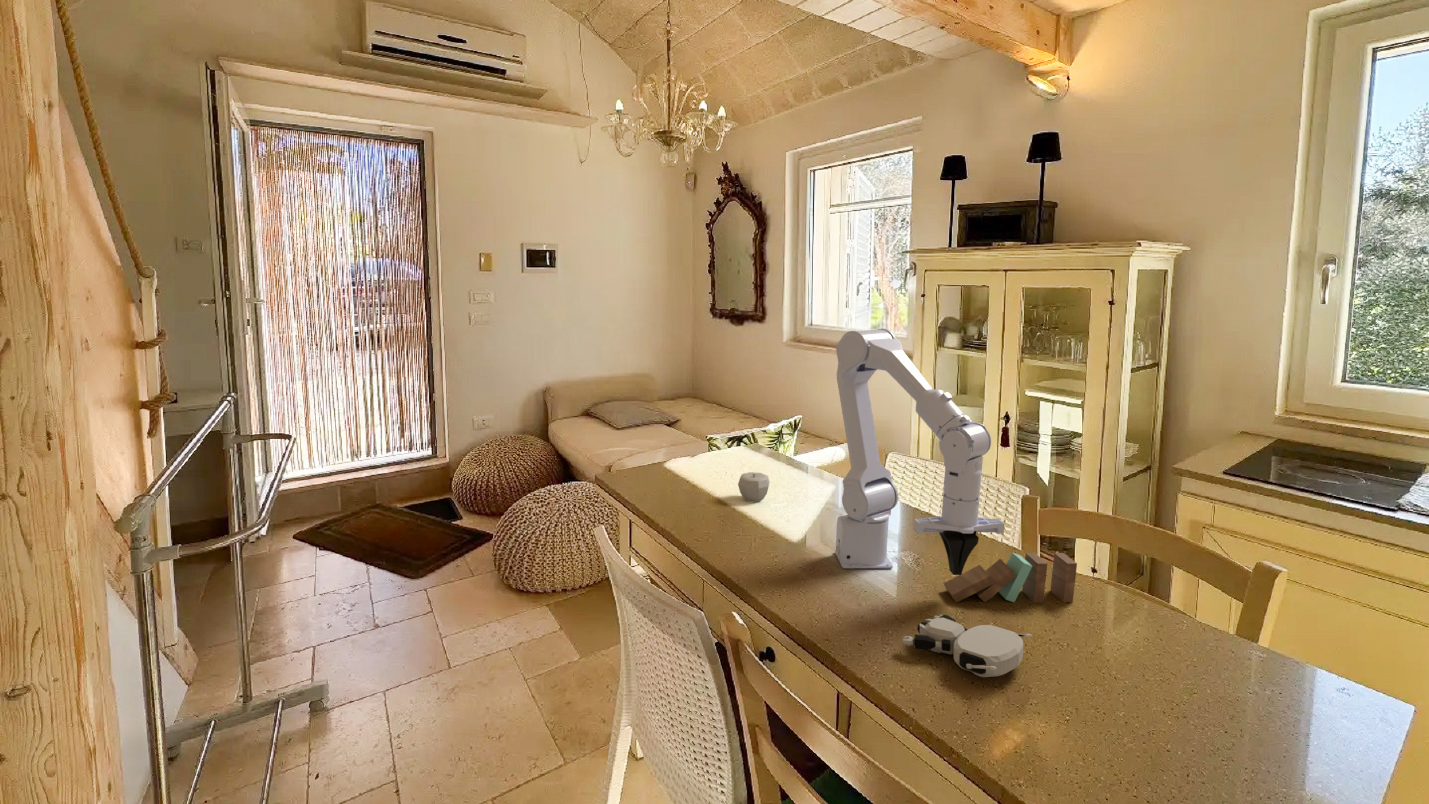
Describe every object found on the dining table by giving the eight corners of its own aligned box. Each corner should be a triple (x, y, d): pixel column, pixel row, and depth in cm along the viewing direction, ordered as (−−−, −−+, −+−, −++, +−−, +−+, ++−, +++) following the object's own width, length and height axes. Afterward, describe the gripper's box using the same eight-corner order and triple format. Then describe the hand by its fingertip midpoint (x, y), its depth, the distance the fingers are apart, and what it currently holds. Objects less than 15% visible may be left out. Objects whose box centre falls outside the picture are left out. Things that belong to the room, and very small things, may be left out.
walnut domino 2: (978, 596, 117) (1011, 569, 116) (968, 584, 121) (1000, 558, 120) (984, 602, 117) (1017, 575, 116) (974, 590, 121) (1005, 564, 121)
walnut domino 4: (1063, 602, 117) (1067, 563, 116) (1050, 590, 122) (1054, 552, 120) (1072, 602, 117) (1077, 563, 116) (1059, 590, 122) (1063, 552, 120)
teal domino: (1003, 590, 121) (1020, 555, 120) (1014, 602, 117) (1032, 566, 116) (994, 587, 121) (1012, 552, 120) (1005, 599, 117) (1023, 562, 116)
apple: (731, 501, 167) (731, 474, 166) (747, 492, 174) (747, 467, 173) (760, 507, 163) (761, 480, 162) (775, 498, 170) (776, 472, 169)
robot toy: (897, 659, 101) (999, 697, 91) (896, 630, 101) (999, 664, 90) (937, 630, 110) (1035, 661, 99) (937, 602, 109) (1036, 631, 99)
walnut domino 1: (952, 594, 117) (990, 575, 116) (943, 583, 121) (979, 564, 120) (956, 602, 117) (994, 583, 116) (947, 590, 121) (983, 572, 121)
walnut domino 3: (1033, 602, 117) (1037, 563, 116) (1022, 590, 122) (1025, 552, 120) (1043, 602, 117) (1047, 563, 116) (1031, 590, 122) (1034, 552, 120)
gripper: (925, 503, 112) (920, 582, 114) (1015, 503, 112) (1007, 582, 114) (912, 489, 119) (907, 564, 121) (996, 490, 119) (990, 564, 121)
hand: (955, 572), depth 118 cm, fingers closed
